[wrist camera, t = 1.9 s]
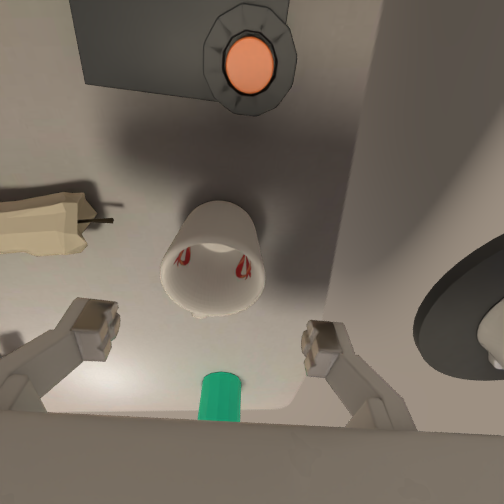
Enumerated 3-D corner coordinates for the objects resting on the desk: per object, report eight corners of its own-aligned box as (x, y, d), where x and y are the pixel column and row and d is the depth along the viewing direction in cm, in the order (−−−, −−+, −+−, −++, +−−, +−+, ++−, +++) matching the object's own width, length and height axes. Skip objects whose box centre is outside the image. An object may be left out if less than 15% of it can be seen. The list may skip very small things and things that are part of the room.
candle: (247, 378, 44) (247, 473, 34) (229, 395, 47) (225, 487, 37) (212, 367, 42) (202, 464, 33) (196, 386, 45) (182, 479, 36)
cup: (239, 284, 32) (237, 345, 26) (169, 268, 31) (148, 327, 24) (273, 203, 26) (282, 255, 20) (188, 177, 25) (167, 224, 18)
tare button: (275, 40, 17) (277, 40, 16) (268, 93, 19) (269, 96, 18) (228, 33, 17) (227, 32, 16) (225, 87, 19) (224, 90, 17)
